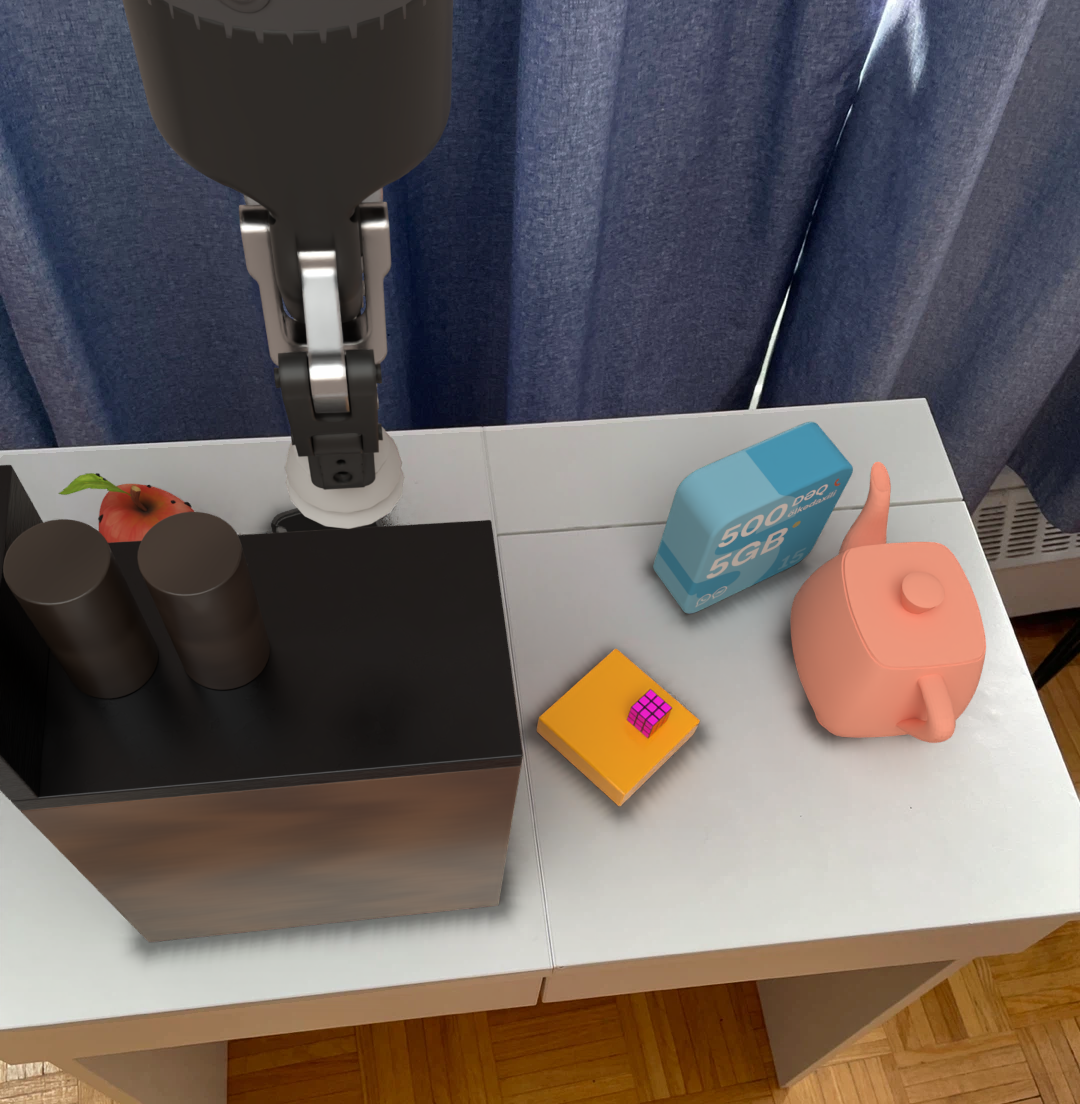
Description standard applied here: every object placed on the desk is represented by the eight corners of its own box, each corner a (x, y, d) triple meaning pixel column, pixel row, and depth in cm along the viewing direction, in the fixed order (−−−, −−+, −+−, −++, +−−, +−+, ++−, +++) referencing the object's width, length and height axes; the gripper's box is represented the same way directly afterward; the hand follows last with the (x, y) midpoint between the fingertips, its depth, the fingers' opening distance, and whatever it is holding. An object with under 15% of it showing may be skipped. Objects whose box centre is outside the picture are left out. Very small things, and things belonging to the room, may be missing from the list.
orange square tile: (619, 807, 74) (628, 784, 70) (535, 731, 76) (540, 704, 72) (694, 733, 77) (707, 707, 73) (611, 662, 79) (620, 632, 75)
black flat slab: (19, 811, 47) (-48, 742, 41) (38, 560, 53) (-19, 465, 46) (521, 766, 50) (533, 696, 43) (490, 533, 55) (496, 439, 49)
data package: (680, 621, 81) (716, 525, 70) (648, 575, 83) (679, 475, 72) (808, 560, 84) (861, 459, 74) (774, 517, 86) (822, 413, 75)
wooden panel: (148, 942, 68) (19, 811, 47) (152, 752, 73) (38, 560, 53) (498, 905, 71) (521, 766, 50) (477, 725, 76) (490, 533, 55)
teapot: (972, 783, 77) (1058, 709, 66) (813, 799, 76) (874, 726, 65) (895, 549, 86) (961, 449, 75) (751, 559, 84) (796, 459, 73)
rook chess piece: (285, 444, 42) (256, 282, 35) (400, 439, 43) (394, 279, 36) (288, 539, 41) (258, 388, 33) (409, 533, 41) (404, 383, 34)
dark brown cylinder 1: (47, 672, 49) (-21, 573, 42) (106, 607, 50) (50, 502, 43) (119, 714, 48) (63, 622, 41) (176, 647, 50) (131, 547, 43)
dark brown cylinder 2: (162, 663, 49) (115, 565, 42) (216, 600, 51) (179, 495, 44) (235, 705, 49) (199, 612, 42) (287, 639, 50) (262, 539, 43)
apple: (187, 513, 82) (156, 423, 73) (226, 580, 80) (199, 496, 71) (88, 554, 80) (43, 466, 71) (125, 624, 77) (84, 543, 68)
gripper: (493, 124, 21) (466, 594, 37) (422, -257, 27) (425, 288, 43) (91, 128, 20) (238, 611, 36) (108, -269, 26) (228, 294, 41)
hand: (339, 433), depth 39 cm, fingers closed on rook chess piece, 3 cm apart
